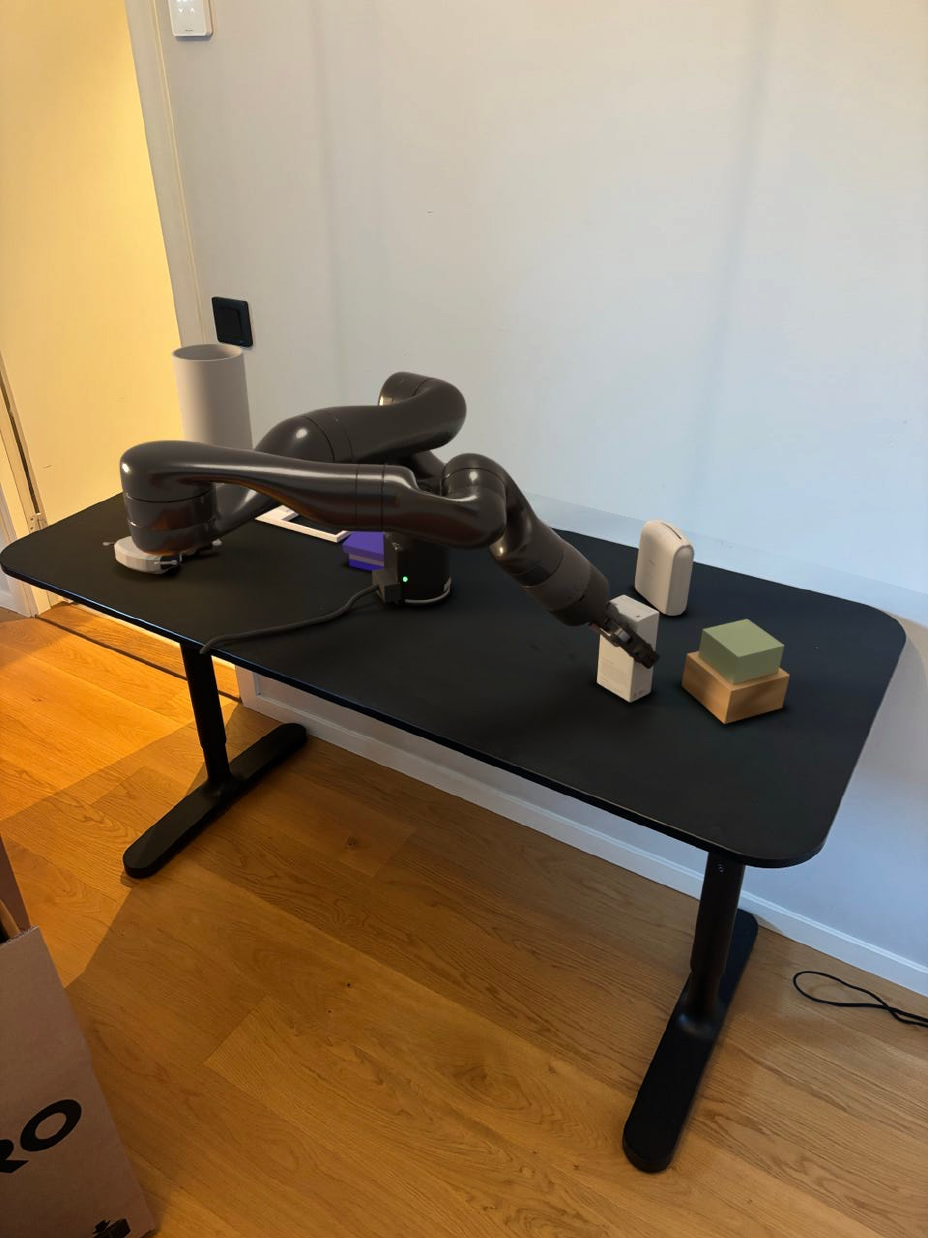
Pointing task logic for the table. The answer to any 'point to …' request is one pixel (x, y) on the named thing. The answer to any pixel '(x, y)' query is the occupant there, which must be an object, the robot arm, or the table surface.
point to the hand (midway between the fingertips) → (634, 645)
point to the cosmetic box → (616, 663)
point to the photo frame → (285, 514)
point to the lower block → (733, 691)
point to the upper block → (740, 651)
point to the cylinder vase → (213, 395)
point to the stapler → (365, 550)
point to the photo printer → (664, 567)
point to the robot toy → (150, 556)
